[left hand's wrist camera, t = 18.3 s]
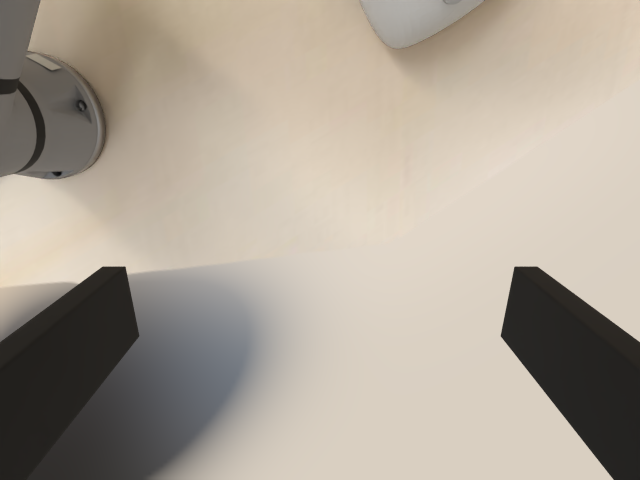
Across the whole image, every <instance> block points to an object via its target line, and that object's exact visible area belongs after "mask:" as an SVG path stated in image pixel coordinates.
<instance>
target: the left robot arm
mask: <svg viewBox="0 0 640 480" xmlns="http://www.w3.org/2000/svg"><path fill="white" fill-rule="evenodd" d="M39 4H40V0H0V177H2V176H6V175H10V174H18V175H24V176H30V177H35V178H42V179H60V178H65V177H69V176H72V175H75V174H78V173H81V172H83V171H84V170H86V169H87V168H89V167H90V166H91V165H92V164H93V163H94V162H95V161H96V159H97V158H98V156H99V155H100V153H101V151H102V148H103V145H104V141H105V119H104V114H103V111H102V108H101V105H100V103H99V101H98V98H97V96H96V95H95V93H94V91H93V90H92V88H91V87H90V85H89V84H88V83H87V82H86V80H85V79H84V78H83V77H82V76H81V75H80V74H79V73H78V72H76V71H75V70H74V69H73V68H71V67H70V66H69V65H67V64H66V63H64V62H62V61H60V60H58V59H56V58H54V57H51V56H48V55H45V54H40V53H35V52H30V51H27V50H28V46H29V42H30V38H31V34H32V31H33V27H34V23H35V19H36V15H37V12H38V8H39ZM138 337H139V332H138V327H137V322H136V317H135V312H134V307H133V302H132V297H131V292H130V287H129V282H128V277H127V272H126V267H102V268H100V269H99V270H98V271H96V272H95V273H93V274H92V275H91V276H89V277H88V278H87V279H85V280H84V281H83V282H81V283H80V284H79V285H77V286H76V287H74V288H73V289H72V290H70V291H69V292H68V293H66V294H65V295H64V296H62V297H61V298H60V299H58V300H57V301H56V302H54V303H53V304H52V305H50V306H49V307H47V308H46V309H45V310H43V311H42V312H41V313H39V314H38V315H36V316H35V317H34V318H32V319H31V320H30V321H28V322H27V323H26V324H24V325H23V326H22V327H20V328H19V329H17V330H16V331H15V332H13V333H12V334H11V335H9V336H8V337H7V338H5V339H4V340H3V341H1V342H0V480H26V479H27V478H28V477H29V476H30V474H31V473H32V472H33V470H34V469H35V468H36V467H37V465H38V464H39V463H40V462H41V460H42V459H43V458H44V457H45V455H46V454H47V453H48V451H49V450H50V449H51V448H52V446H53V445H54V444H55V442H56V441H57V440H58V439H59V437H60V436H61V435H62V434H63V432H64V431H65V430H66V429H67V427H68V426H69V425H70V423H71V422H72V421H73V420H74V418H75V417H76V416H77V415H78V413H79V412H80V411H81V410H82V408H83V407H84V406H85V404H86V403H87V402H88V401H89V399H90V398H91V397H92V396H93V394H94V393H95V392H96V390H97V389H98V388H99V387H100V385H101V384H102V383H103V382H104V380H105V379H106V378H107V376H108V375H109V374H110V373H111V371H112V370H113V369H114V367H115V366H116V365H117V364H118V362H119V361H120V360H121V359H122V357H123V356H124V355H125V354H126V352H127V351H128V350H129V348H130V347H131V346H132V345H133V343H134V342H135V341H136V339H137V338H138ZM501 337H502V338H503V340H504V341H505V342H506V343H507V345H508V346H509V347H510V348H511V350H512V351H513V352H514V354H515V355H516V356H517V357H518V359H519V360H520V361H521V362H522V364H523V365H524V366H525V368H526V369H527V370H528V371H529V373H530V374H531V375H532V376H533V378H534V379H535V380H536V382H537V383H538V384H539V385H540V387H541V388H542V389H543V390H544V392H545V393H546V394H547V396H548V397H549V398H550V399H551V401H552V402H553V403H554V404H555V406H556V407H557V408H558V410H559V411H560V412H561V413H562V415H563V416H564V417H565V418H566V420H567V421H568V422H569V423H570V425H571V426H572V427H573V429H574V430H575V431H576V432H577V434H578V435H579V436H580V437H581V439H582V440H583V441H584V443H585V444H586V445H587V446H588V448H589V449H590V450H591V451H592V453H593V454H594V455H595V457H596V458H597V459H598V460H599V462H600V463H601V464H602V465H603V467H604V468H605V469H606V470H607V472H608V473H609V474H610V475H611V477H612V478H613V479H614V480H640V342H639V341H637V340H636V339H635V338H633V337H632V336H631V335H629V334H628V333H627V332H625V331H624V330H623V329H621V328H620V327H618V326H617V325H616V324H614V323H613V322H612V321H610V320H609V319H608V318H606V317H605V316H604V315H602V314H601V313H599V312H598V311H597V310H595V309H594V308H593V307H591V306H590V305H589V304H587V303H586V302H584V301H583V300H582V299H580V298H579V297H578V296H576V295H575V294H574V293H572V292H571V291H570V290H568V289H567V288H566V287H564V286H563V285H561V284H560V283H559V282H557V281H556V280H555V279H553V278H552V277H551V276H549V275H548V274H547V273H545V272H544V271H542V270H541V269H540V268H538V267H514V272H513V277H512V282H511V287H510V292H509V297H508V302H507V307H506V312H505V317H504V322H503V327H502V333H501Z"/></svg>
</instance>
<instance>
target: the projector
mask: <svg viewBox="0 0 640 480" xmlns="http://www.w3.org/2000/svg"><path fill="white" fill-rule="evenodd" d="M359 1H360V3H361V6H362V8H363V10H364V12H365V14H366V17H367V19H368V21H369V22H370V24H371V26H372V28H373V30H374V31H375V33H376V34H377V36H378V37H379V38H380V39H381V41H382V42H384V43H385V44H386V45H387V46H389V47H391V48H395V49H402V48H406V47H409V46H411V45H414V44H416V43H418V42H421V41H423V40H425V39H427V38H429V37H430V36H432V35H434V34H436V33H438V32H439V31H441V30H443V29H444V28H446V27H448V26H449V25H451V24H452V23H454V22H455V21H457V20H459V19H460V18H461V17H463V16H464V15H466V14H467V13H469V12H470V11H471V10H473V9H474V8H476V7H477V6H478V5H480V4H481V3H482V2H483V1H485V0H359Z"/></svg>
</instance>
